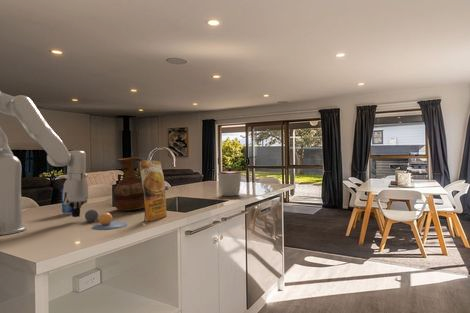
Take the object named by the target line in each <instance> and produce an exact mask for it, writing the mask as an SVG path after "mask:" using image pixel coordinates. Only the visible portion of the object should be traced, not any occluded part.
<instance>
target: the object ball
mask: <svg viewBox="0 0 470 313" xmlns="http://www.w3.org/2000/svg"><path fill="white" fill-rule="evenodd" d="M98 222H99V224H102V225H109V224H110V223H111V222H113V215H112V214H111V213H110V212H103V213H101V214H100V215H99V216H98Z"/></svg>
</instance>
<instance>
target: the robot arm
mask: <svg viewBox="0 0 470 313" xmlns="http://www.w3.org/2000/svg"><path fill="white" fill-rule="evenodd" d="M0 113H1V114H4V115H9V116H10V117H15V118H16V119H17V120H18V121H19V123H20V124H21V126H22V128H23V129H24V130H25V131H26V132H27V134H28V135H29V137H30V138H31V139H33V140H34V141H36V142H37V143H38V144H39V145H40V146H41V147H42V149H44V151H45V152H46V154H47V155H46V160H47V162H48V164H49V165H50V166H53V167H65V166H66V167H67V169H66V170H67V171H66V172H67V173H66V175H67V176H66V180H65V181H64V183H63V186H64V189H63V201H64V205H69V206H70V207H71V208H72V216H71V217H73V218H78V217H79V218H80V217H81V216H80V215H81V208H82V206H83V205H84V204H86V203H88V198H89V186H88V180H87V179H86V178H88V174H87V173H86V171H87V170H86V166H87V165H86V164H87V161H86V160H87V156H86V154H87V153H86V152H85V151H84V150H68V148H67V147H66V145H65V144H64V142H63V140H61V138H60V137H59V135H57V133H56V132H55V131H54V129H53V128H52V127H51V126H50V125H49V123H48V122H47V120H46V119H45V117H43V115H42V113H41V112H40V110H39V109H38V107H37V106H36V104H35V103H34V102H33V100H32V99H31V97H29V96H27V95H24V94H23V95H22V94H19V95H15V96H13V95H11V94H8V93H4V92H2V91H1V90H0ZM10 147H11V146H10V145H9V140H8V136H7V135H6V133H5V132H4V130H3V129H2V127H1V125H0V236H2V235H4V236H5V235H12V234H16V233H20V232H24V231H26V230H27V226H26V225H23V224H22V222H23V220H22V163H21V160H20V159H19V158H18V157H17V156H15V155H14V153H13V152H12V149H11V148H10ZM69 202H70V203H69Z"/></svg>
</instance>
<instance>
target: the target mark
mask: <svg viewBox="0 0 470 313" xmlns="http://www.w3.org/2000/svg"><path fill="white" fill-rule="evenodd" d="M126 226H128V223H127V222H124V221H112V222H111V223H110V224H109V225H102V224H100V223H98V224H95V225H93V226H92V227H91V228H92V229H93V230H96V231H98V230H99V231H107V230H108V231H109V230H116V229H121V228H124V227H126Z"/></svg>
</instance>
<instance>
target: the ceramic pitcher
mask: <svg viewBox="0 0 470 313" xmlns="http://www.w3.org/2000/svg"><path fill="white" fill-rule="evenodd" d="M142 160H143V159H142V158H140V157H138V156H133V157H126V158H125V157H124V158H119V159H117V161H118V162H119V163H120V164H121V171H122V173H123V176H122V179H121V180H119V182H118V183H117V184H116V187H115V190H114V193H113V203H114V204H113V205H114V207H115V208H116V209H117V210H119V211H136V210H140V209H143V208H145V205H144V193H143V189H142V185H141V176H139V177H138V176H137V175H136V172H135V163H136V162H137V161H139V163H140V162H141V161H142Z"/></svg>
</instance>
